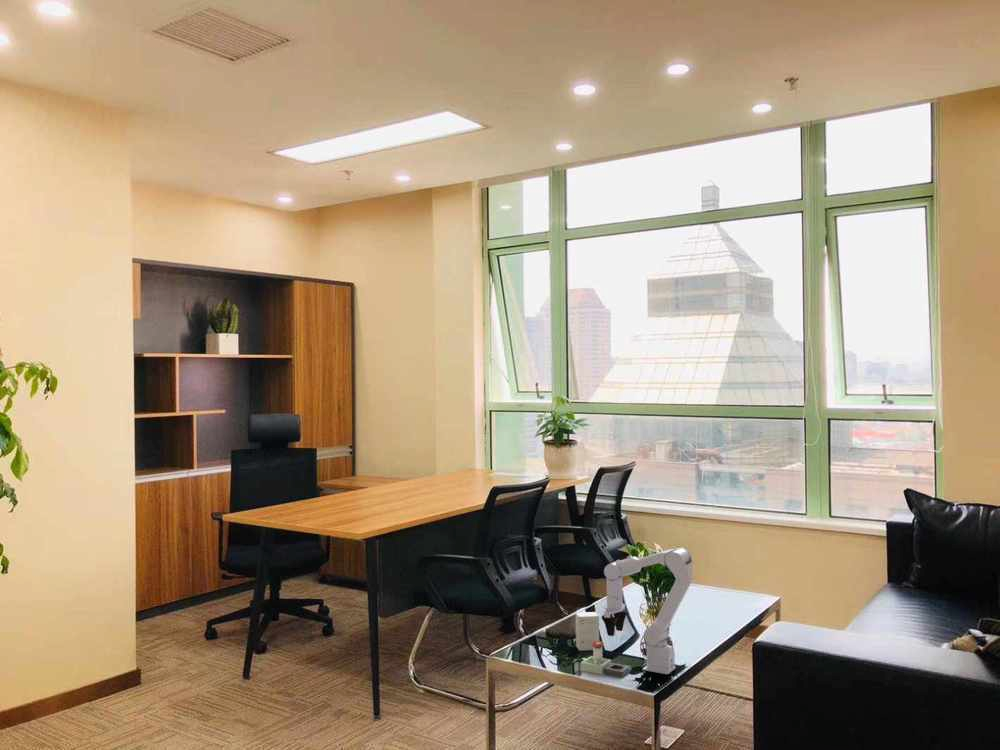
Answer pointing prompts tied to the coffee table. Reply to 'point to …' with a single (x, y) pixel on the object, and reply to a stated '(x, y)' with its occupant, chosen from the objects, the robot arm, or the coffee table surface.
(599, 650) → the lock pin
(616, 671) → the block
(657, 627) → the robot arm
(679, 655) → the coffee table surface
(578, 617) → the small box
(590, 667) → the tray
